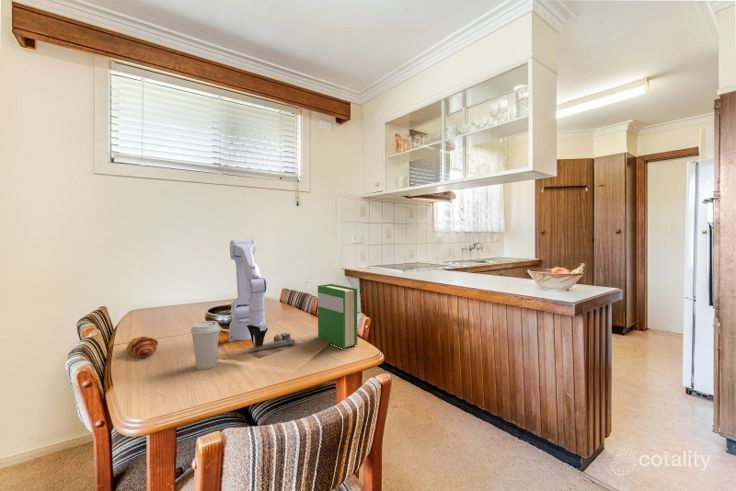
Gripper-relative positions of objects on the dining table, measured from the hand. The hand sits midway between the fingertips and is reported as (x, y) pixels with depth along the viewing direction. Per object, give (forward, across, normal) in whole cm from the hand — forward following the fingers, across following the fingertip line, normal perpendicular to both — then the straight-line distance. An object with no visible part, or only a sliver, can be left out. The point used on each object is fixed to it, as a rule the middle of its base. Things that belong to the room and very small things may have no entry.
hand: (257, 344), depth 126 cm
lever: (+3, 0, +7) cm, 7 cm away
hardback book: (+4, +7, +32) cm, 33 cm away
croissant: (+4, -30, -36) cm, 47 cm away
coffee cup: (+4, 0, -18) cm, 18 cm away
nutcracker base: (+4, -1, +6) cm, 8 cm away
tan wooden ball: (+3, -4, +10) cm, 11 cm away
